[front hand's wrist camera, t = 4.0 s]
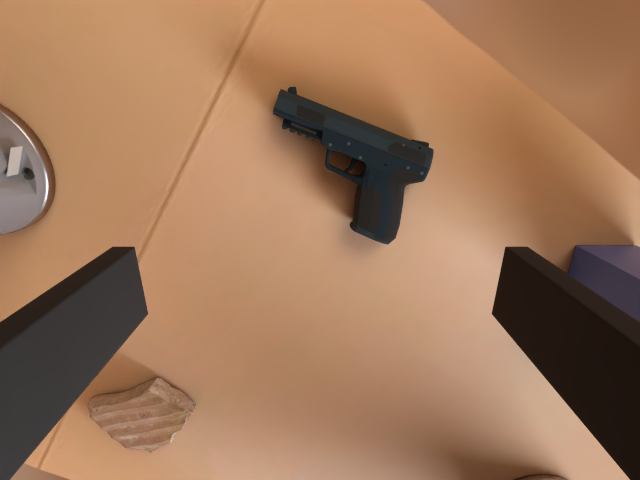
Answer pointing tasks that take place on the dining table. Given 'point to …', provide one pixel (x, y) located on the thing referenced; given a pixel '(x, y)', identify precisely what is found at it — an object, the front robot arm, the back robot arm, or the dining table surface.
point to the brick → (610, 274)
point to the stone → (142, 414)
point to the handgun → (362, 160)
